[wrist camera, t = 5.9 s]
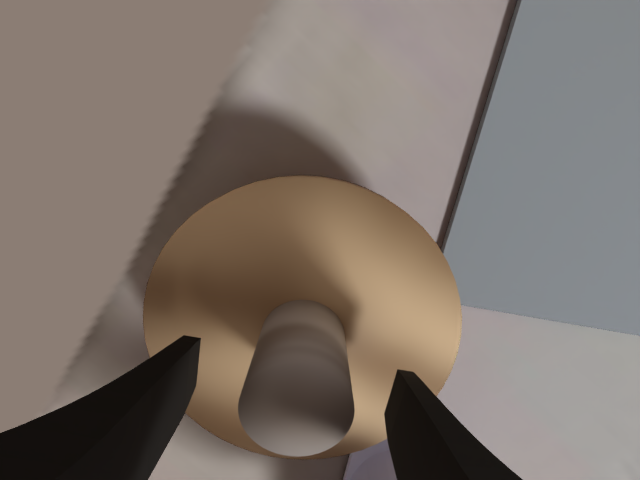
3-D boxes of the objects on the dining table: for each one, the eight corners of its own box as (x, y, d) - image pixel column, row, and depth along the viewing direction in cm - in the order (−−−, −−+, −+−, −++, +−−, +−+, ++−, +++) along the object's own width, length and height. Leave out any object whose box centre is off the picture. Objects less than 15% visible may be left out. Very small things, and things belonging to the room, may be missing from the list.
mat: (681, 340, 19) (688, 344, 19) (426, 296, 18) (429, 299, 18) (848, 48, 15) (862, 45, 15) (525, -28, 14) (532, -33, 14)
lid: (397, 463, 17) (429, 588, 12) (140, 411, 16) (63, 525, 11) (499, 221, 13) (602, 262, 8) (175, 136, 12) (82, 127, 8)
